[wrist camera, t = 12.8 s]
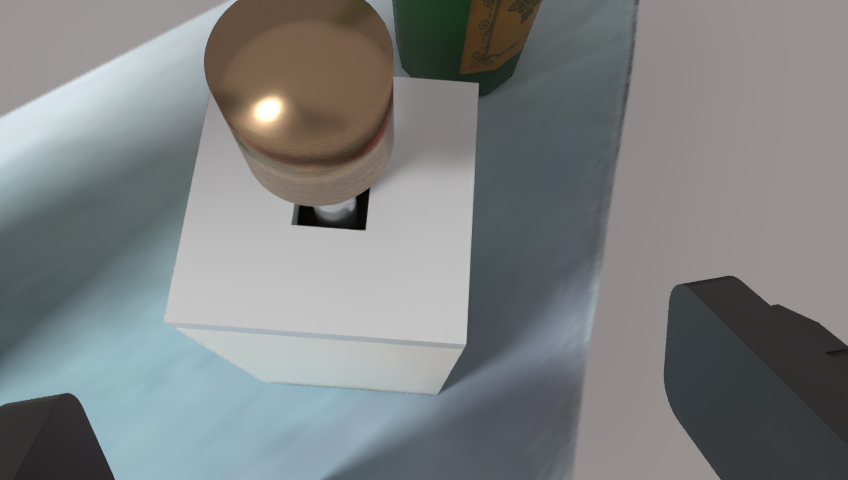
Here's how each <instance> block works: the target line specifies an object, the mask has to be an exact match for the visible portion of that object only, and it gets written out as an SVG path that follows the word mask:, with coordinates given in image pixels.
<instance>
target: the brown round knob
mask: <svg viewBox="0 0 848 480" xmlns="http://www.w3.org/2000/svg"><path fill="white" fill-rule="evenodd" d="M204 70H205V75H206V80H207V83H208V86H209V89H210V91H211V93H212V95H213V97H214V99H215V101H216V103H217V105H218V107H219V109H220V111H221V113H222V115H223V117H224V119H225V121H226V123H227V125H228V127H229V129H230V131H231V133H232V135H233V137H234V139H235V141H236V143H237V145H238V147H239V149H240V151H241V153H242V155H243V157H244V159H245V161H246V163H247V165H248V167H249V168H250V170H251V172H252V174H253V175H254V177H255V178H256V179H257V181H258V182H259V183H260V184H261V185H262V186H263V187H264V188H265V189H267V190H268V191H269V192H271V193H272V194H274V195H275V196H277V197H279V198H281V199H283V200H286V201H288V202H291V203H295V204H298V205H304V206H313V208H314V211H315V214H316V217H317V220H318V223H319V226H320V227H323V228H335V229H348V230H361V224H360V218H359V212H358V205H357V199H356V196H358V195H359V194H361V193H362V192H364V191H365V190H367V189H368V188H369V187H370V186H371V185H373V184H374V183H375V182H376V180H377V179H378V178H379V177H380V176H381V174H382V173H383V171H384V170H385V168H386V166H387V164H388V162H389V160H390V157H391V154H392V151H393V145H394V89H393V49H392V42H391V39H390V35H389V32H388V30H387V28H386V26H385V24H384V22H383V20H382V19H381V17H380V16H379V14H378V13H377V12H376V11H375V10H374V9H373V7H372V6H370V5H369V4H368V3H367V2H366V1H365V0H238V1H236V2H235V3H234V4H233V5H232V6H230V7H229V8H228V9H227V10H226V11H225V12H224V14H223V15H222V16H221V17H220V18H219V20H218V21H217V23H216V24H215V26H214V28H213V30H212V32H211V34H210V36H209V38H208V42H207V45H206V49H205V57H204Z"/></svg>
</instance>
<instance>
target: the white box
mask: <svg viewBox="0 0 848 480" xmlns="http://www.w3.org/2000/svg"><path fill="white" fill-rule="evenodd" d="M393 89H394V145H393V151H392V154H391V157H390V160H389V162H388V164H387V166H386V168H385V170H384V171H383V173H382V174H381V176H380V177H379V178H378V179H377V180H376V182H375V183H374V184H373V185H371V186H370V187H369V188H368V189H367V190H365V191H364V192H362V193H361V194H359V195H358V196H356V199H357V205H358V212H359V218H360V224H361V230H348V229H335V228H323V227H320V226H319V223H318V220H317V217H316V214H315V211H314V208H313V206H304V205H298V204H295V203H291V202H288V201H286V200H283V199H281V198H279V197H277V196H275V195H274V194H272V193H271V192H269V191H268V190H267V189H265V188H264V187H263V186H262V185H261V184H260V183H259V182H258V181H257V179H256V178H255V177H254V175H253V174H252V172H251V170H250V168H249V167H248V165H247V163H246V161H245V159H244V157H243V155H242V153H241V151H240V149H239V147H238V145H237V143H236V141H235V139H234V137H233V135H232V133H231V131H230V129H229V127H228V125H227V123H226V121H225V119H224V117H223V115H222V113H221V111H220V109H219V107H218V105H217V103H216V101H215V99H214V97H213V95H212V93H211V91H210V94H209V99H208V104H207V109H206V114H205V119H204V124H203V129H202V134H201V139H200V144H199V149H198V153H197V158H196V163H195V168H194V173H193V178H192V183H191V188H190V193H189V198H188V203H187V208H186V213H185V218H184V222H183V227H182V232H181V237H180V242H179V247H178V252H177V257H176V262H175V267H174V272H173V277H172V282H171V287H170V291H169V296H168V301H167V306H166V311H165V316H164V321H163V322H165V323H167V324H168V325H170V326H172V327H173V328H175V329H177V330H178V331H180V332H182V333H183V334H185V335H187V336H188V337H190V338H192V339H193V340H195V341H196V342H198V343H200V344H201V345H203V346H205V347H206V348H208V349H210V350H211V351H213V352H215V353H216V354H218V355H220V356H221V357H223V358H225V359H226V360H228V361H230V362H231V363H233V364H235V365H236V366H238V367H240V368H241V369H243V370H244V371H246V372H248V373H249V374H251V375H253V376H254V377H256V378H258V379H259V380H261V381H263V382H267V383H280V384H294V385H307V386H320V387H334V388H347V389H360V390H374V391H387V392H400V393H414V394H427V395H438V393H439V391H440V389H441V388H442V386H443V384H444V382H445V381H446V379H447V377H448V376H449V374H450V372H451V370H452V369H453V367H454V365H455V363H456V362H457V360H458V358H459V356H460V355H461V353H462V351H463V349H464V348H465V346H466V341H467V320H468V299H469V279H470V258H471V237H472V217H473V196H474V175H475V155H476V134H477V114H478V93H479V83H470V82H458V81H446V80H433V79H421V78H409V77H396V76H393Z"/></svg>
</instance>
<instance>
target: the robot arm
mask: <svg viewBox="0 0 848 480" xmlns="http://www.w3.org/2000/svg"><path fill="white" fill-rule="evenodd" d="M664 383H665V390H666V393H667V397H668V401H669V403H670V406H671V408H672V410H673V412H674V414H675V416H676V418H677V419H678V421H679V422H680V424H681V425H682V426H683V428H684V429H685V430H686V432H687V433H688V435H689V436H690V437H691V439H692V440H693V442H694V443H695V444H696V446H697V447H698V449H699V450H700V451H701V453H702V454H703V456H704V457H705V458H706V460H707V461H708V462H709V464H710V465H711V467H712V468H713V469H714V471H715V472H716V474H717V475H718V476H719V477H720V479H721V480H848V346H847V345H846V344H844V343H843V342H842V341H841V340H839V339H838V338H837V337H836V336H834V335H833V334H832V333H831V332H829V331H828V330H827V329H826V328H824V327H823V326H822V325H821V324H819V323H818V322H816V321H813V320H811V319H809V318H807V317H804V316H803V315H800V314H798V313H796V312H794V311H791V310H789V309H787V308H785V307H783V306H781V305H772V306H770V305H769V304H768V303H767V302H765V301H764V300H763V299H762V298H761V297H760V296H758V295H757V294H756V293H755V292H754V291H752V290H751V289H750V288H749V287H748V286H747V285H745V284H744V283H743V282H742V281H741V280H739V279H738V278H736V277H734V276H725V277H719V278H713V279H708V280H702V281H696V282H690V283H685V284H679V285H676V286H675V287H674V288H673V290H672V292H671V295H670V300H669V311H668V326H667V338H666V352H665V364H664ZM0 480H115V479H114V476H113V474H112V472H111V469H110V467H109V465H108V463H107V460H106V458H105V456H104V454H103V451H102V449H101V447H100V445H99V443H98V440H97V438H96V436H95V434H94V431H93V429H92V427H91V425H90V422H89V420H88V418H87V416H86V413H85V411H84V409H83V407H82V405H81V403H80V402H79V400H78V399H77V398H76V397H75V396H74V395H72V394H70V393H65V394H59V395H53V396H47V397H42V398H36V399H30V400H24V401H19V402H13V403H7V404H4V405H2V406H1V407H0Z"/></svg>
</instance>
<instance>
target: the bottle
mask: <svg viewBox="0 0 848 480" xmlns="http://www.w3.org/2000/svg"><path fill="white" fill-rule="evenodd" d="M541 1H542V0H392V2H393V12H394V23H395V33H396V41H397V46H398V51H399V55H400V60H401V64H402V68H403V69H404V70H405V71H406V72H407V73H408V74H409V75H410V76H411V77H412V78H421V79H433V80H446V81H458V82H470V83H479V93H478V96H481V95H487V94H489V93H490V92H492V91H493V90H494V89H496V88H497V87H498V86H499V85H501V84H502V83H503V82H505V81H506V80H507V79H508V78H510V77H511V76H512V74H513V72H514V69H515V67H516V64H517V62H518V59H519V57H520V54H521V52H522V49H523V47H524V44H525V42H526V39H527V37H528V34H529V32H530V29H531V26H532V24H533V21H534V19H535V16H536V14H537V11H538V9H539V6H540V4H541Z"/></svg>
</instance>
